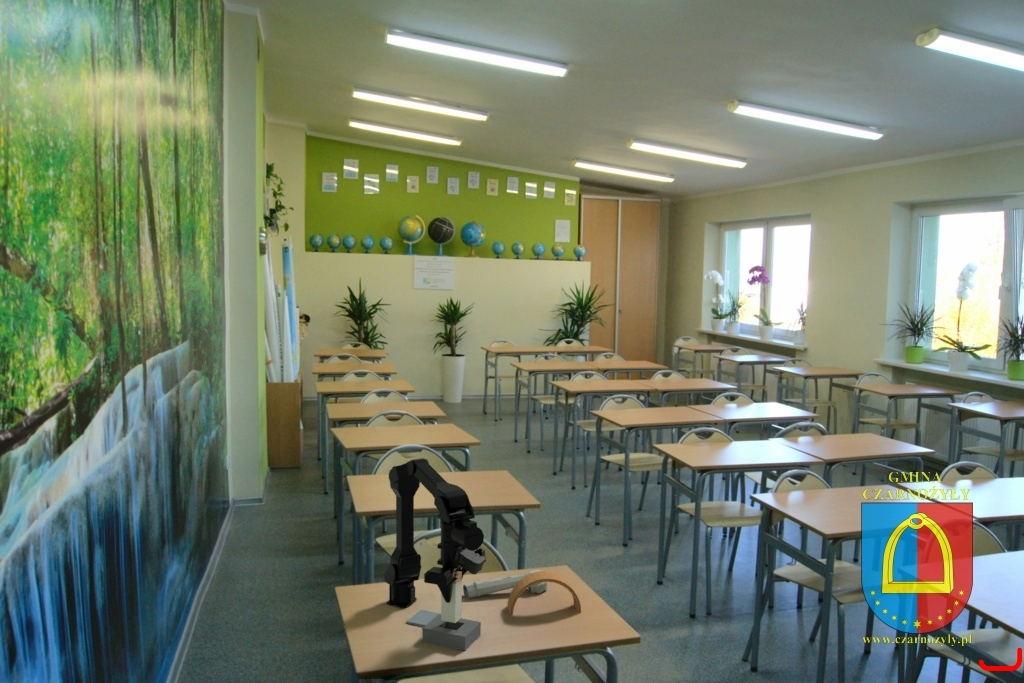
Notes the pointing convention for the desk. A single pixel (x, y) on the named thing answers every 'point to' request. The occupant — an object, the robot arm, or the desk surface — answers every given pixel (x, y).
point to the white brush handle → (500, 585)
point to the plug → (453, 601)
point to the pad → (422, 618)
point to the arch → (538, 578)
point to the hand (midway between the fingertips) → (451, 599)
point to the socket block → (451, 633)
